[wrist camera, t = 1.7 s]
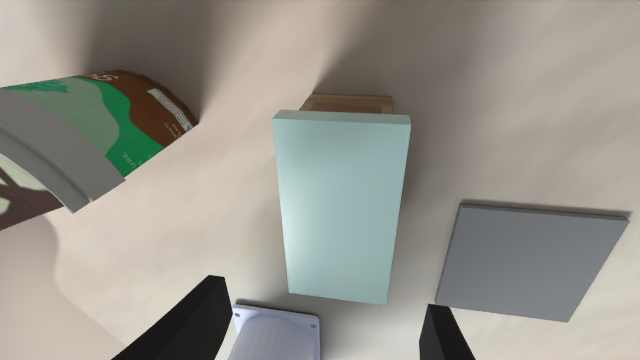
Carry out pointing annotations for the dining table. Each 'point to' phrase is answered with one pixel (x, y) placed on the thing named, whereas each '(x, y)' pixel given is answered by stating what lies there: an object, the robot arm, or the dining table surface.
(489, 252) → the coaster
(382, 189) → the lid
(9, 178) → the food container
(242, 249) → the dining table surface
